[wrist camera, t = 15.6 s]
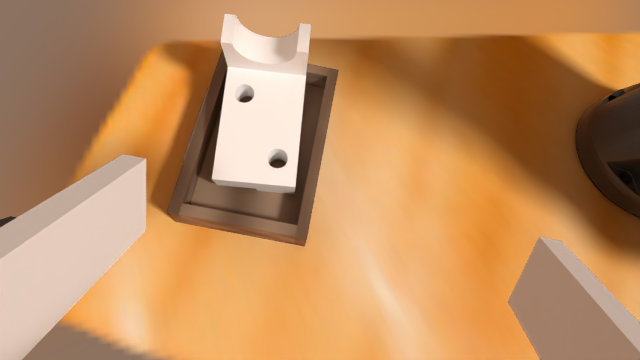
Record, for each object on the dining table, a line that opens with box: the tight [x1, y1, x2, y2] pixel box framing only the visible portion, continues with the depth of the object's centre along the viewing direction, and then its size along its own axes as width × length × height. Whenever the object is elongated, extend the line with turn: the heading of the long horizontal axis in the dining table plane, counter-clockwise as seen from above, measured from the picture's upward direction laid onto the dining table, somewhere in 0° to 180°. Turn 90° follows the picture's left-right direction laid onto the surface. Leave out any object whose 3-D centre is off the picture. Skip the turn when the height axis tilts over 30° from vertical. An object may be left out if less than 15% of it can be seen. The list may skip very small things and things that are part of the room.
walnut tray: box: [167, 49, 338, 246], centre depth 37 cm, size 12×18×3 cm
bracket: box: [212, 14, 311, 194], centre depth 34 cm, size 13×7×8 cm, turn 176°
